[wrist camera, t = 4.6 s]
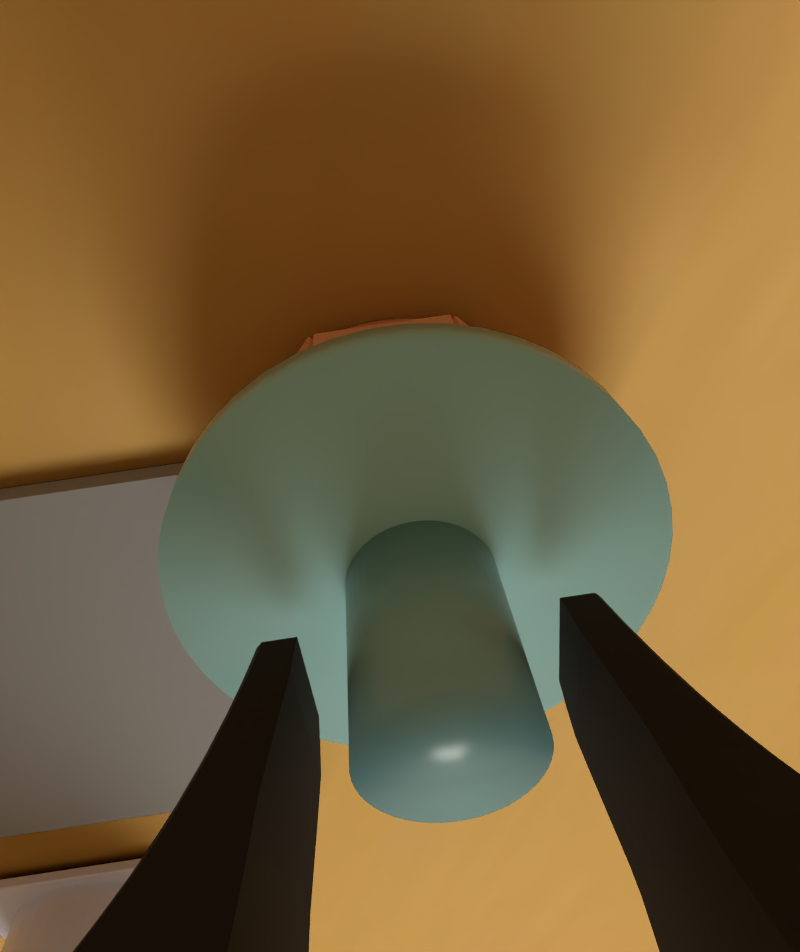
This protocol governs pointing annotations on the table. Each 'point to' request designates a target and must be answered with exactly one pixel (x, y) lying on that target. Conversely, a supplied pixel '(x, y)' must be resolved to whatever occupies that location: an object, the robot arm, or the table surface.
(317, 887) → the table surface
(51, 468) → the table surface
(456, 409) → the lid
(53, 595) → the mat
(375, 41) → the table surface
